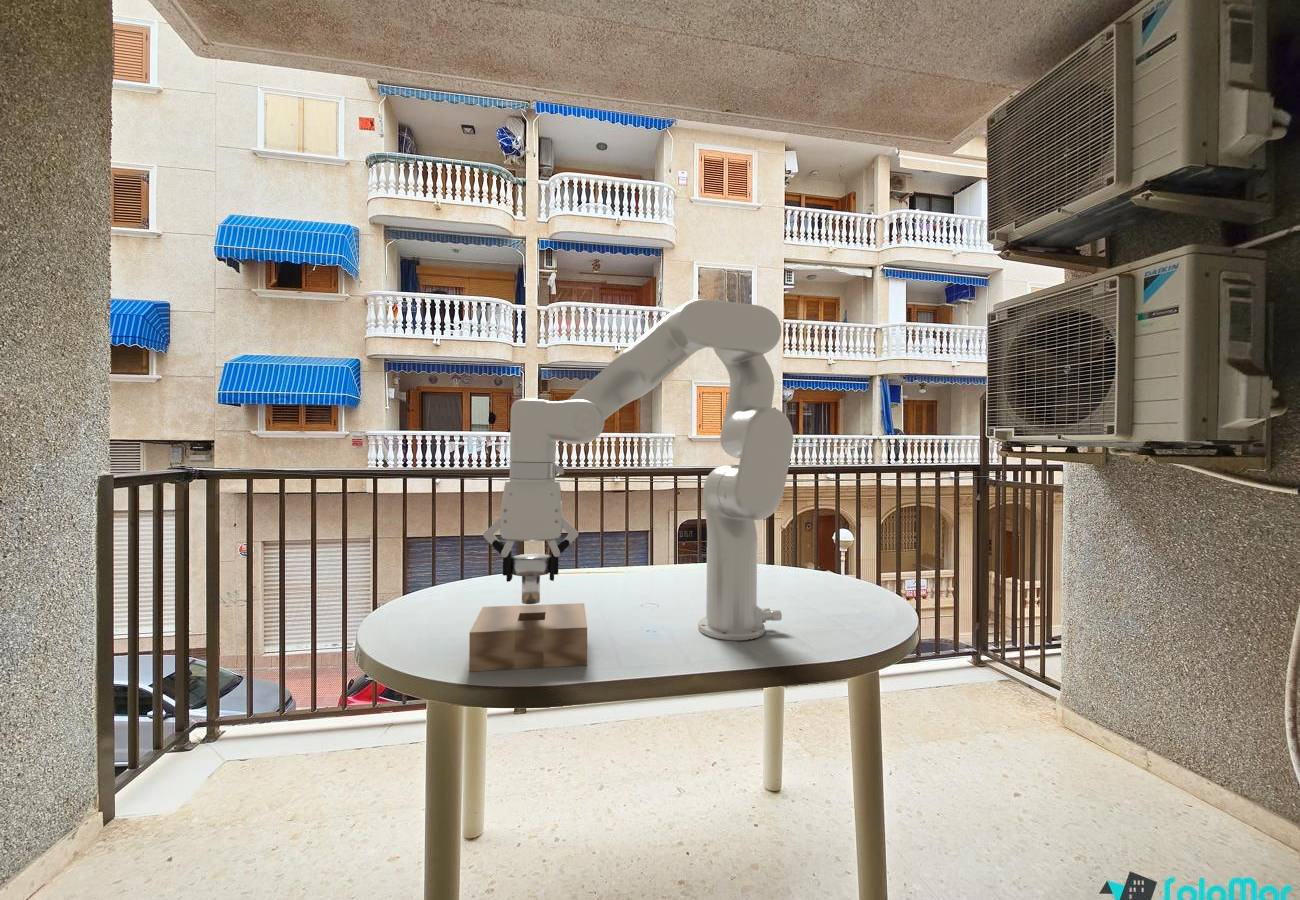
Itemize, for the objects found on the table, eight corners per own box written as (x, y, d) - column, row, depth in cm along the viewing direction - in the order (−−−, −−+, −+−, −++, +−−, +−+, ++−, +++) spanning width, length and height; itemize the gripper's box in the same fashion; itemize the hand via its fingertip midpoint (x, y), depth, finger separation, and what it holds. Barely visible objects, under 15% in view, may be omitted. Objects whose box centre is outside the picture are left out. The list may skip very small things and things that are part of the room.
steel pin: (550, 596, 97) (550, 553, 97) (549, 606, 91) (549, 560, 91) (513, 597, 96) (513, 554, 96) (509, 607, 90) (509, 561, 90)
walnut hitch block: (583, 635, 102) (584, 603, 102) (587, 665, 88) (587, 627, 88) (482, 640, 99) (482, 606, 99) (469, 671, 85) (469, 632, 85)
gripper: (583, 472, 98) (581, 573, 98) (482, 471, 96) (480, 575, 96) (585, 474, 91) (583, 583, 91) (475, 473, 88) (473, 585, 88)
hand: (530, 578), depth 93 cm, fingers closed on steel pin, 6 cm apart
